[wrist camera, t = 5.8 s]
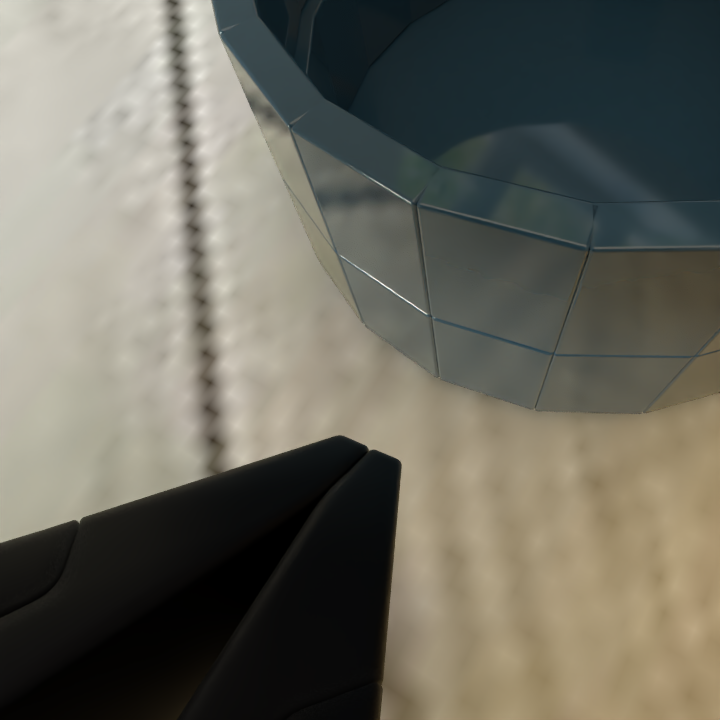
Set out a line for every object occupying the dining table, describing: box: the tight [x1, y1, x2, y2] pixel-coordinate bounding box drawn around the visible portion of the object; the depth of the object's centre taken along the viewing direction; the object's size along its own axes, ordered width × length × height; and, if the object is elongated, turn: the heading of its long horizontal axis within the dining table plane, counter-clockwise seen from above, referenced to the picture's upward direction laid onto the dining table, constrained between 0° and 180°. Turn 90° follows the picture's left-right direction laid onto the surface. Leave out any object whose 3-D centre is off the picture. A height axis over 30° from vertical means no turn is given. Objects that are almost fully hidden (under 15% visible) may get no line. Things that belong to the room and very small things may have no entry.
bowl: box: [211, 0, 720, 414], centre depth 14 cm, size 14×14×8 cm
